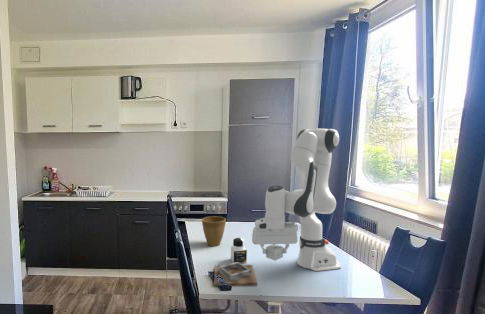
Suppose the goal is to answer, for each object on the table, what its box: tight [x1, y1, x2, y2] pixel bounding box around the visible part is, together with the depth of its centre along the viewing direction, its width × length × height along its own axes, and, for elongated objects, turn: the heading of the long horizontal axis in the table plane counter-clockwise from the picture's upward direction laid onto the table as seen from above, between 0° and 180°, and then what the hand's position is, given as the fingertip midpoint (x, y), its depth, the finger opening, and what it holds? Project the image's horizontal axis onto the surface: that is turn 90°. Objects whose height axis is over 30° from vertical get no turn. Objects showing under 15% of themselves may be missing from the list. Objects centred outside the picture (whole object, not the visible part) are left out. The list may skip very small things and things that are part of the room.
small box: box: [265, 244, 284, 262], centre depth 130 cm, size 6×6×5 cm
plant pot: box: [201, 215, 227, 247], centre depth 181 cm, size 15×15×16 cm
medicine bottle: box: [230, 237, 248, 264], centre depth 156 cm, size 7×7×12 cm
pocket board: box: [213, 262, 258, 287], centre depth 138 cm, size 19×19×4 cm
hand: (274, 253), depth 130 cm, fingers closed on small box, 8 cm apart
